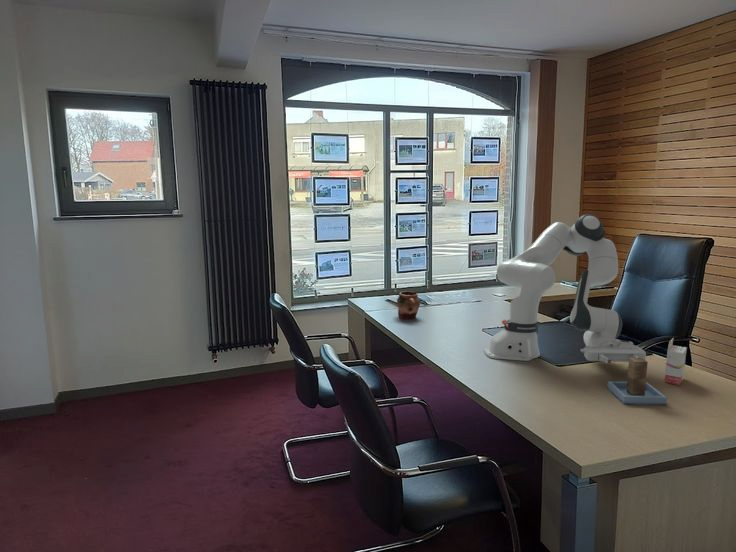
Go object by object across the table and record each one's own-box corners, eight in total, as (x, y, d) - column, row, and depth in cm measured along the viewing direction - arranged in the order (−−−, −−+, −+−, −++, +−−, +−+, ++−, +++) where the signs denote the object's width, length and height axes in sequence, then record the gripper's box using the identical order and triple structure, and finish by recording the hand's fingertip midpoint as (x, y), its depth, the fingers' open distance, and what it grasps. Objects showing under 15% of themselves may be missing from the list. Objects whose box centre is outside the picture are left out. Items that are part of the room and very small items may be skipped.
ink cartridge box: (680, 385, 173) (684, 344, 170) (664, 382, 176) (667, 342, 174) (684, 378, 179) (688, 339, 177) (668, 375, 182) (671, 336, 180)
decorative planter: (426, 321, 263) (426, 295, 260) (404, 323, 259) (404, 297, 257) (411, 313, 281) (411, 288, 279) (391, 314, 278) (391, 290, 275)
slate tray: (623, 404, 158) (624, 396, 158) (607, 388, 171) (607, 381, 171) (666, 404, 158) (666, 397, 157) (646, 389, 170) (647, 382, 170)
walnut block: (631, 396, 162) (634, 361, 160) (626, 392, 166) (629, 357, 164) (644, 397, 162) (647, 361, 160) (638, 392, 166) (641, 357, 164)
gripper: (579, 340, 187) (592, 352, 173) (636, 341, 185) (654, 353, 172) (578, 356, 188) (591, 369, 174) (634, 357, 186) (652, 370, 173)
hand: (623, 361), depth 173 cm, fingers open, 8 cm apart
